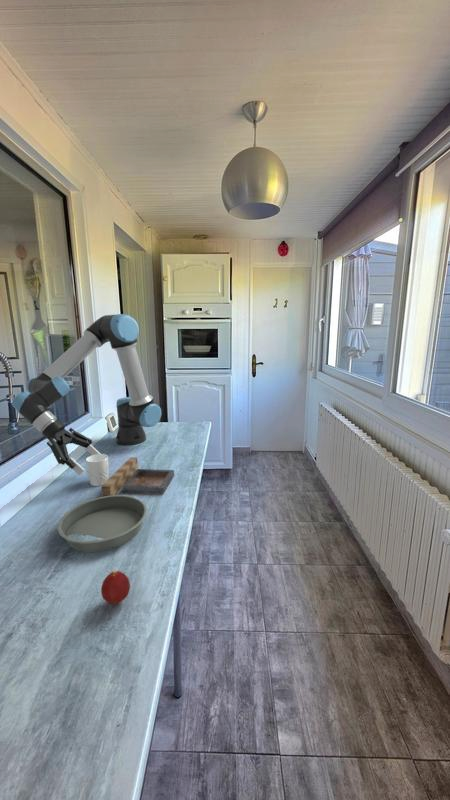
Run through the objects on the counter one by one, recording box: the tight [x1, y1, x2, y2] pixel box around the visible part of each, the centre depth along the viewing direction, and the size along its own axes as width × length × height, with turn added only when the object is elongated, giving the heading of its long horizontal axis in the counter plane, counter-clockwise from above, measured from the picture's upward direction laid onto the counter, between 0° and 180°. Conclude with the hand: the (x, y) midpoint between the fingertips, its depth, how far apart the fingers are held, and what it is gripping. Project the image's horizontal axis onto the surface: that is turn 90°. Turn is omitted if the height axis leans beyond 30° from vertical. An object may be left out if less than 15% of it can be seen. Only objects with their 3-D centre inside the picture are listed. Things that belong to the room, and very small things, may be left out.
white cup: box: [85, 453, 110, 487], centre depth 128 cm, size 8×8×10 cm
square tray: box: [122, 468, 175, 495], centre depth 127 cm, size 15×15×2 cm
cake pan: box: [57, 494, 148, 553], centre depth 99 cm, size 25×25×4 cm
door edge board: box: [101, 456, 139, 497], centre depth 128 cm, size 26×3×5 cm, turn 174°
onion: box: [100, 570, 131, 605], centre depth 72 cm, size 6×6×8 cm
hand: (91, 465), depth 127 cm, fingers open, 13 cm apart
